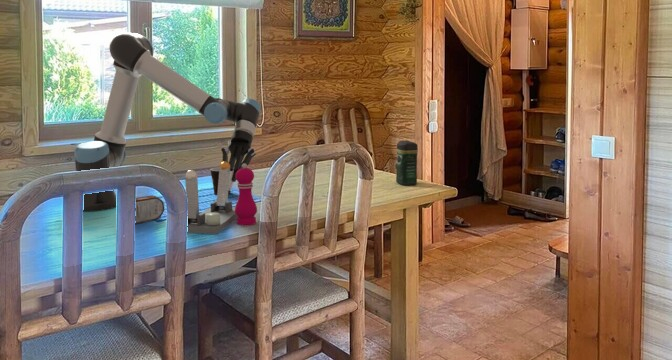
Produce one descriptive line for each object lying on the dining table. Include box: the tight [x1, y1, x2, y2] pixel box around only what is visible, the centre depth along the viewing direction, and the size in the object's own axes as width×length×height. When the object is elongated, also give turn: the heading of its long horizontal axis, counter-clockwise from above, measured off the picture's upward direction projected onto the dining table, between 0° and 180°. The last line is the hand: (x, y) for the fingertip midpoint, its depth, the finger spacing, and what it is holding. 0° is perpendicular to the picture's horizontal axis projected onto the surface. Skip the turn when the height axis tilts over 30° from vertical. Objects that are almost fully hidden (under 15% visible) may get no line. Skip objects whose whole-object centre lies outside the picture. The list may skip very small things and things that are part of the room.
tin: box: [135, 195, 165, 224], centre depth 202 cm, size 15×3×8 cm, turn 133°
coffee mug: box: [210, 166, 232, 196], centre depth 244 cm, size 12×9×10 cm
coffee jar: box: [395, 140, 419, 186], centre depth 259 cm, size 10×8×19 cm
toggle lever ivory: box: [184, 169, 200, 223], centre depth 191 cm, size 4×4×17 cm
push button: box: [206, 213, 220, 225], centre depth 191 cm, size 4×4×3 cm
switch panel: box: [187, 200, 238, 235], centre depth 201 cm, size 12×26×5 cm, turn 170°
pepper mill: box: [235, 163, 258, 226], centre depth 198 cm, size 7×7×20 cm
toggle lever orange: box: [216, 161, 230, 211], centre depth 209 cm, size 4×4×17 cm
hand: (227, 188), depth 213 cm, fingers closed
